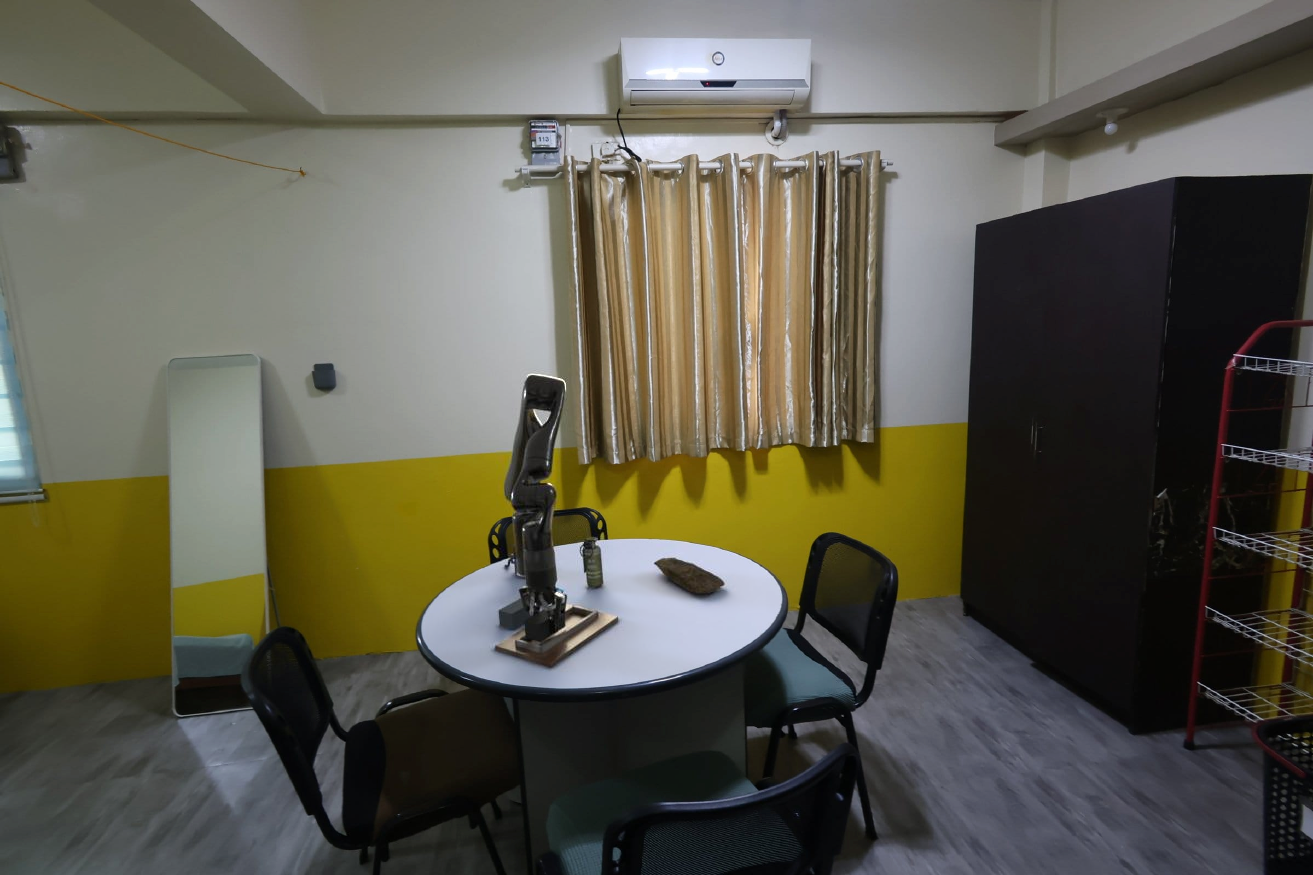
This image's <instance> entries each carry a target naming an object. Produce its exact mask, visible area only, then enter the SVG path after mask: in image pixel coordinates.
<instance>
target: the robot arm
mask: <svg viewBox="0 0 1313 875" xmlns="http://www.w3.org/2000/svg"><path fill="white" fill-rule="evenodd" d="M566 386H567V385H566V382H565V380H564V379H562V378H558V377H554V376H550V375H545V374H538V373H530V374H528V375H527V376H526V378H525V380H524V383H523V386H522V392H521V401H520V409H519V418H518V424H517V427H516V431H515V435H514V440H513V444H512V452H511V458H510V462H509V465H508V469H507V471H506V475H505V477H504V482H503V494H504V497H505V499H506V501H508V502H509V503H510V504H511V507H512V509H513V510H514V512H513V514H512V516H511V522H512V532H513V543H514V544H513V545H512V553H510V554H509V559H508V560H507V564H503V565H504V566H503V567H504V568H507V569H508V568H510V566H511V565H513V567H514V575H516V576H517V577H518V578H520V579H524V581H525V585H523V586H522V587H520V588H518V593H519V596H520V598H521V600H522V604H523V608H524V611H525V612H527V611H528V612H529V613H530V615H531V616H533V615H534V614H536V613H538V612H539V611H541V607H543V609H544V610H545V612H547V614H548V617H549V619H550V620H549V623H550V633H551V634H553V635H554V634H555V633H557V632H558V630H559V620H558V619H559V618H561V617H563V616H564V615H565V610H566V604H567V601H568V595H567V594H566V593H559V592H558V591H557V589H556V588H557V587H556V584H557V581H558V572H557V561H556V560H557V559H556V552H555V547H554V539H553V538H554V537H553V519H554V514H555V509H556V505H557V497H558V493H557V490H556V487H555V486H554V484H551V483H550V482H543V481H545V480H547V479H549V478H550V477H551V475H552V472H553V464H554V463H553V462H554V453H555V446H556V441H557V437H558V432H559V429H560V425H561V420H562V416H563V411H564V407H565V406H564V405H565V401H566V392H567V387H566ZM535 410H537V411H543V412H549V415H548V417H547V419H546V420H545V421H544V422H543V424H542V422H541V420H540V419H539V418H538V416H537V414H536V411H535ZM527 601H528V603H529V605H527ZM541 605H542V606H541ZM549 606H550V607H549ZM552 610H553V612H554V614H553V613H552Z"/></svg>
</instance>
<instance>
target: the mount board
mask: <svg viewBox="0 0 1313 875" xmlns="http://www.w3.org/2000/svg"><path fill="white" fill-rule="evenodd" d="M618 621H619V616H617V615H613V614H608V613H606V612H605V613H604V612H600V611H598V610H596V609H590V608H587V607H583V606H578V605H576V604H575V605H574V604H572V605H571V604H568V603H566V610H565V625H566V626H565V627H564V628H562V629H561V630H559V631H558V632H557V633H555V634H554V635H551V636H550V637H548V638H547V639H545V640H544V641H542V642H538V641H535V640H531V639H528V638H526V637H525V627H524V628H522V629H521V630H519V631H517V632H515V633H513V634H512V635H510V636H509V637H507V638H505V639H503V640H502V641H500V642H499V643H496V644H495V645H494V650H495V651H497V652H500V653H503V654H507V655H510V656H512V657H515V658H519V659H522V660H525V661H528V662H531V663H535V664H538V665H540V666H544V667H547V668H550V669H552V668H553V667H555V666H556V665H558V664H559V663H560V662H562V661H563V660H564V659H566V658H568V657H569V656H570V655H572V654H573V653H574V652H576V651H578V650H579V649H580V648H582V647H583V646H584V645H586V644H587V643H589V642H590V641H591V640H593V639H595V638H596V637H597V636H599V635H600V634H602V633H603V632H605V631H606V630H607V629H609V628H610V627H611V626H613V625H615V624H616V623H617V622H618Z"/></svg>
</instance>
